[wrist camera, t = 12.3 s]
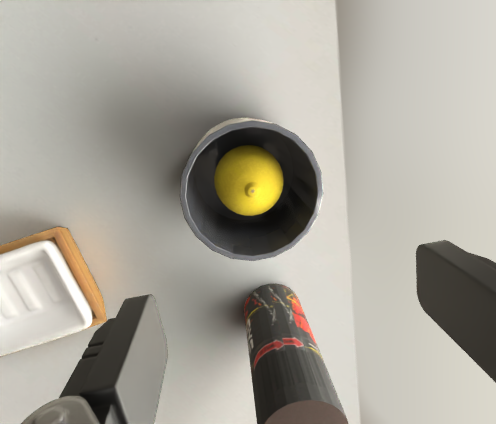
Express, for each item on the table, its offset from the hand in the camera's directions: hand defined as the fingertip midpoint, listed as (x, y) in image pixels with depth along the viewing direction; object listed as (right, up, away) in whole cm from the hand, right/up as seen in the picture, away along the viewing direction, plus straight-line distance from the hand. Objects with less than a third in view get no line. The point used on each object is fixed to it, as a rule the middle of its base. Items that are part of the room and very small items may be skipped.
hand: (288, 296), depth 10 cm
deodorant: (+1, -8, +27) cm, 28 cm away
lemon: (-2, +6, +21) cm, 23 cm away
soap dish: (-22, -4, +24) cm, 32 cm away
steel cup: (-2, +6, +22) cm, 23 cm away
